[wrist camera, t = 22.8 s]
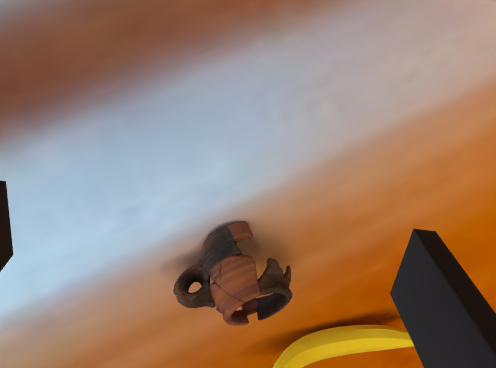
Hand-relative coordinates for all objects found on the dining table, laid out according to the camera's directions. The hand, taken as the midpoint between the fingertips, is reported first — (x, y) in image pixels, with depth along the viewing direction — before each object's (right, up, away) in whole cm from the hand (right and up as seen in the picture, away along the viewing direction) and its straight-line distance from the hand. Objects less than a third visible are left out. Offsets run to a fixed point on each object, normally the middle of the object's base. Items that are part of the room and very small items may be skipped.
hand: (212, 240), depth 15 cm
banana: (+12, -16, +39) cm, 44 cm away
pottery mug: (0, -6, +35) cm, 35 cm away
